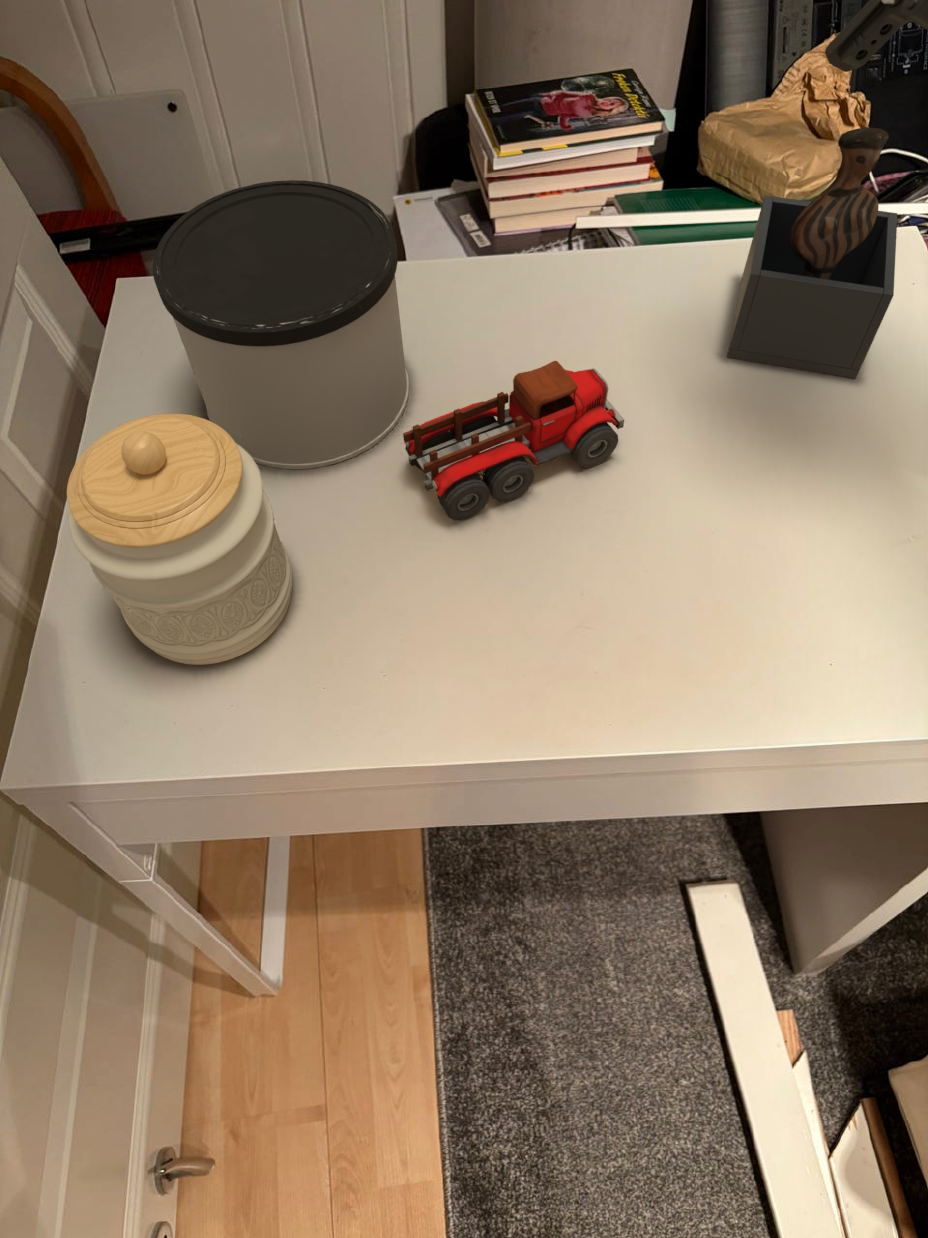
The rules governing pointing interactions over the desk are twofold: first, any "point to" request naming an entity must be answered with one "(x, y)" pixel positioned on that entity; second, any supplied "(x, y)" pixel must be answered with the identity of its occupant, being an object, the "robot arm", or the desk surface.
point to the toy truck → (514, 437)
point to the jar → (181, 537)
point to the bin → (811, 297)
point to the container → (289, 318)
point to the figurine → (840, 207)
